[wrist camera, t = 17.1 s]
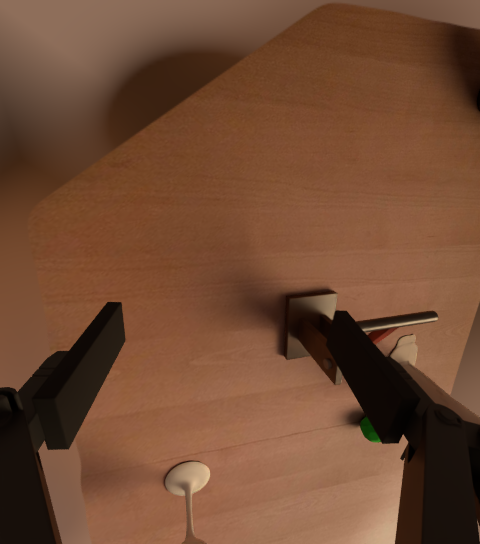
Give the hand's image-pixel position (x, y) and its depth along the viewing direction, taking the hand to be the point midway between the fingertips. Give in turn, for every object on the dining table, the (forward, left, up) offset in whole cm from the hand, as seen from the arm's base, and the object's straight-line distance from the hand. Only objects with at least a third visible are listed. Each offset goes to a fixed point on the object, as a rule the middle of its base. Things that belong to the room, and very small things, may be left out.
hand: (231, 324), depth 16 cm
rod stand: (+17, +17, -24) cm, 34 cm away
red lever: (+12, +17, -11) cm, 24 cm away
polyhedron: (+45, +30, -24) cm, 59 cm away
